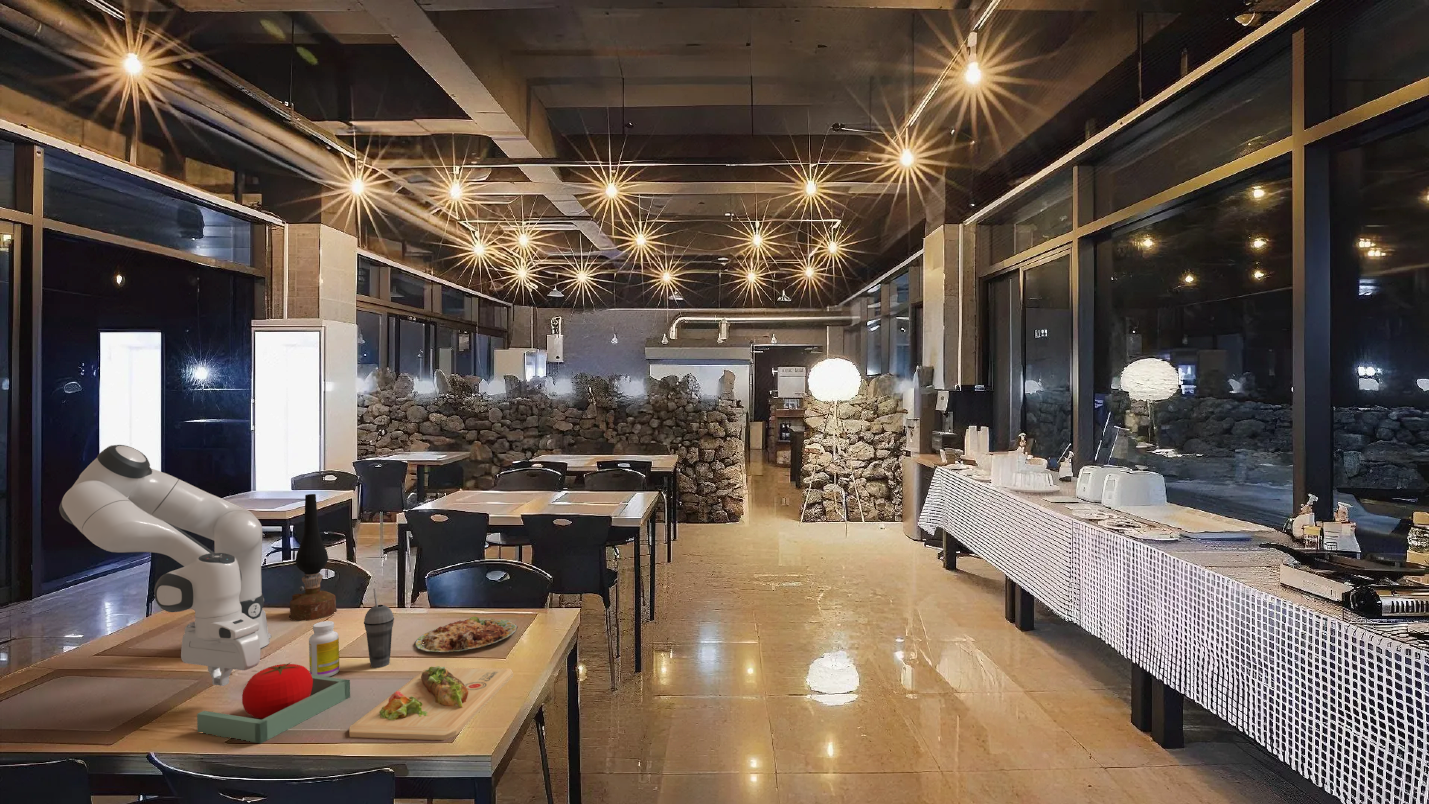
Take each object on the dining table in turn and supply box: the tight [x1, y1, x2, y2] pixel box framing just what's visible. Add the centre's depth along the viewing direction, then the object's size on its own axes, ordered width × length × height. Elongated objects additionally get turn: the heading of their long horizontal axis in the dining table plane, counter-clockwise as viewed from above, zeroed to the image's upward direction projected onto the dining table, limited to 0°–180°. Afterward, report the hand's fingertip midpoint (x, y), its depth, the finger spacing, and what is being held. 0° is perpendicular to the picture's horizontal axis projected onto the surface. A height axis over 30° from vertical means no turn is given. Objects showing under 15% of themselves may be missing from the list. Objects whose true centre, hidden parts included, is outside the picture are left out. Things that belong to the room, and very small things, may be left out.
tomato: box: [241, 662, 313, 720], centre depth 158 cm, size 14×13×10 cm
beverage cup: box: [363, 588, 395, 669], centre depth 186 cm, size 7×7×20 cm
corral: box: [196, 675, 351, 744], centre depth 157 cm, size 18×23×4 cm
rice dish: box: [414, 616, 518, 653], centre depth 205 cm, size 28×28×5 cm
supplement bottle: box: [308, 620, 340, 677], centre depth 180 cm, size 7×7×13 cm
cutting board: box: [349, 665, 514, 741], centre depth 162 cm, size 35×23×8 cm
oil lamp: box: [288, 493, 338, 621], centre depth 233 cm, size 14×15×40 cm
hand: (220, 684), depth 163 cm, fingers closed
